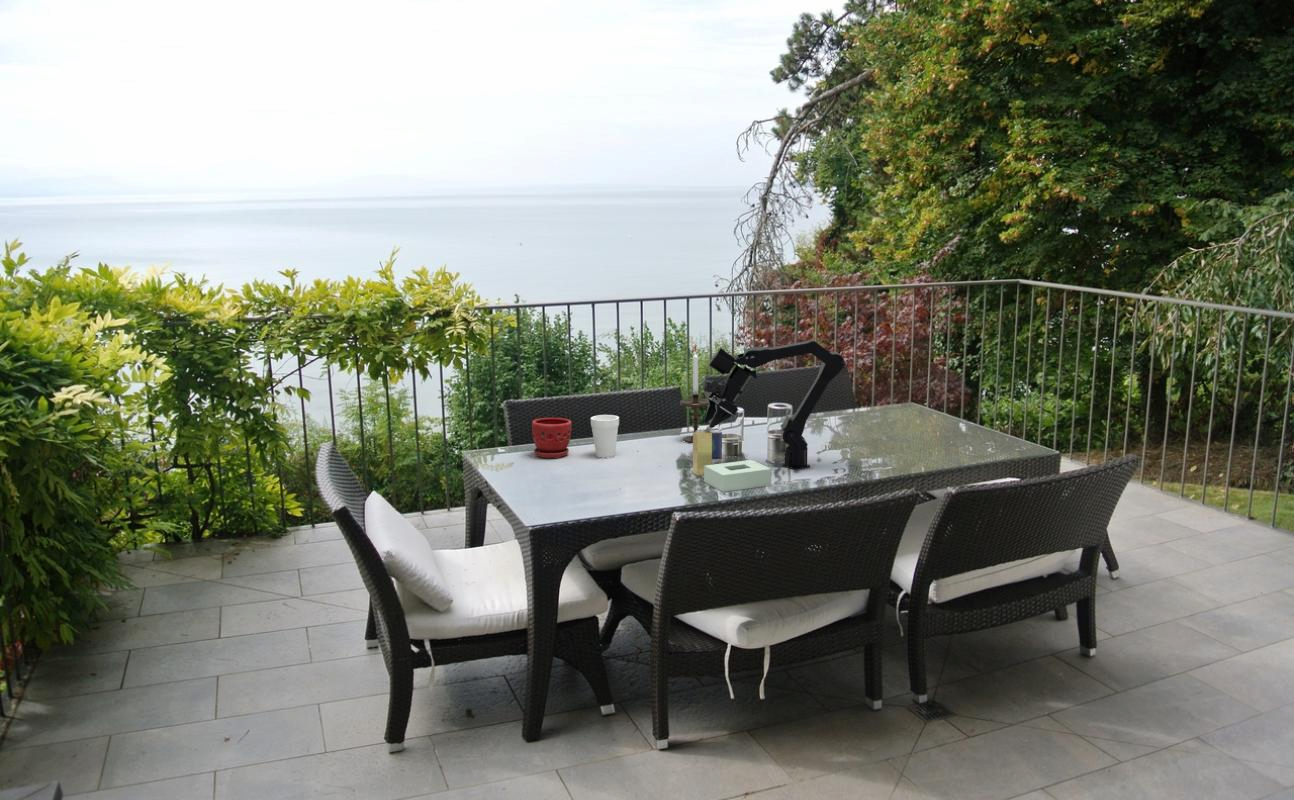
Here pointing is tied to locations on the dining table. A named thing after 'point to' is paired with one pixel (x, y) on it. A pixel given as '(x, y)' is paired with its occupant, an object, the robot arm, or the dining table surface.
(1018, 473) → the dining table surface
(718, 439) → the flask
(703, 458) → the tan rectangular block
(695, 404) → the candlestick
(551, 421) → the plant pot
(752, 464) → the coin box
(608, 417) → the foam cup
